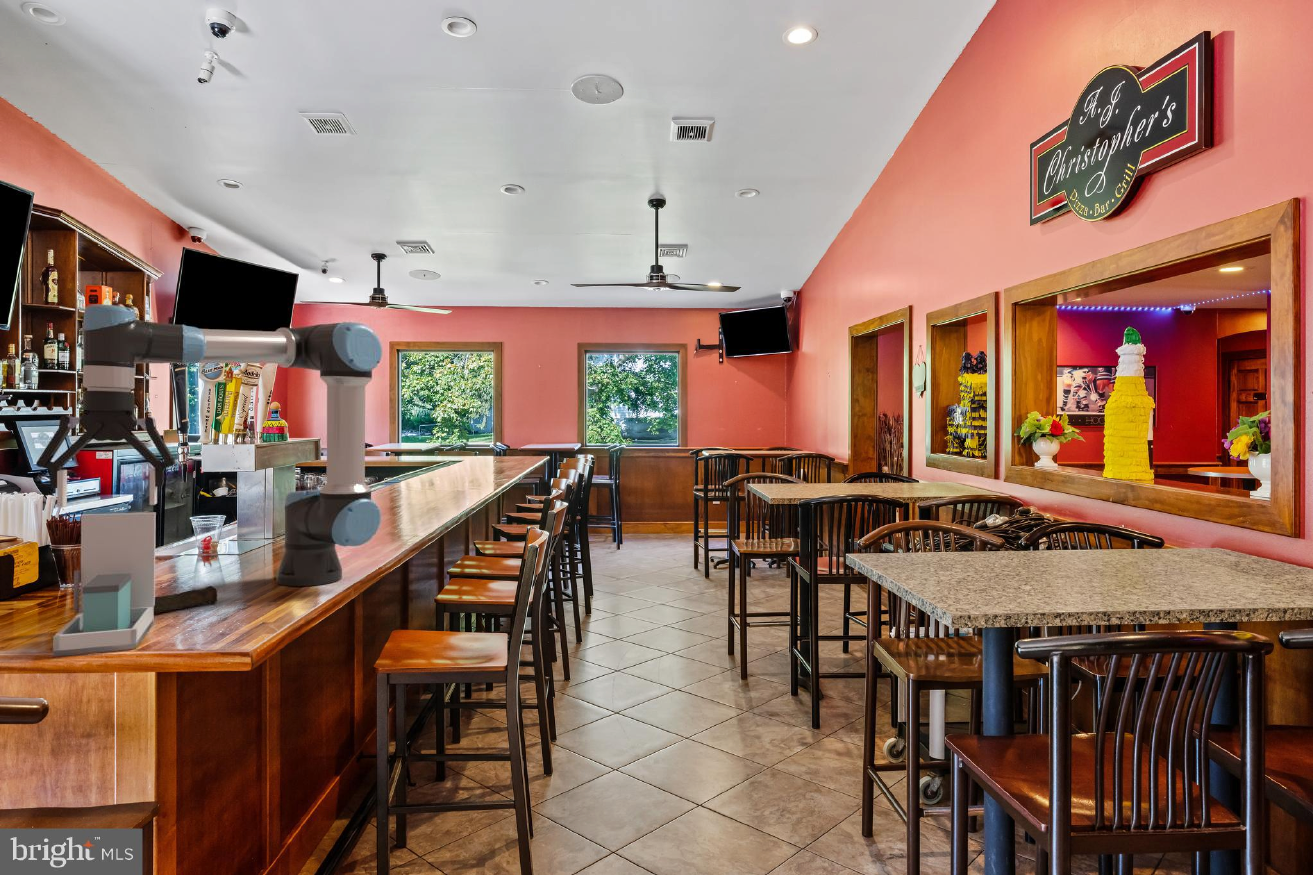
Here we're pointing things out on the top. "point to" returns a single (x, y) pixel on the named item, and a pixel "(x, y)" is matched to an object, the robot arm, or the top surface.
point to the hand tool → (185, 599)
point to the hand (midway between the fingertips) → (108, 505)
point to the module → (106, 603)
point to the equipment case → (113, 551)
